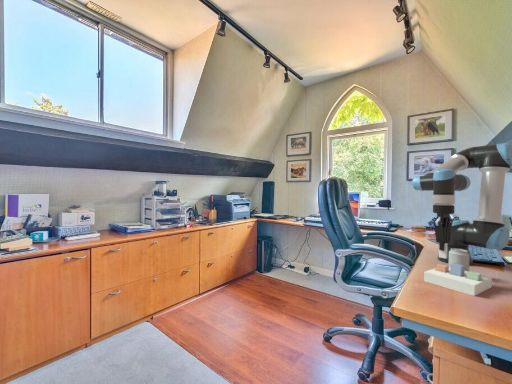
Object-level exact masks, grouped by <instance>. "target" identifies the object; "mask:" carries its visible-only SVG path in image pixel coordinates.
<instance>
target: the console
mask: <svg viewBox="0 0 512 384" xmlns="http://www.w3.org/2000/svg"><path fill="white" fill-rule="evenodd" d="M467 272H468V271H464V276H463V277H460V276H456V275H452V274H450V267H449V272H447V273H444V272H440V271H436V270H435V268H432V269H428V270H425V271H424V273H423V281H424V282H426V283H430V284H433V285H437V286H440V287H442V288H443V287H444V288H446V289H450V290H452V291H456V292H460V293H463V294H466V295H470V296H474V297H475V296H477V295H479V294H481V293H483V292H486V291H487V290H489V289H490V288H493V277H492V276H489V275H483V274H482V280H481V281H475V280H471V279H468V278H467Z"/></svg>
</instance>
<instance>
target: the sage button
mask: <svg viewBox="0 0 512 384" xmlns="http://www.w3.org/2000/svg"><path fill="white" fill-rule="evenodd" d="M482 275H483V274H482V273H480V272H476V271H473V270H469V272H467V278H468V279H471V280H475V281H481V280H482Z"/></svg>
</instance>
